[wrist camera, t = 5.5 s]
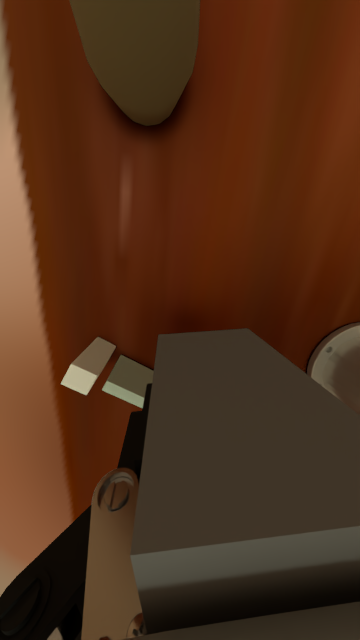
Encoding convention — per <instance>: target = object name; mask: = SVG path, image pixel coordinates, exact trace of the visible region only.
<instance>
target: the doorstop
mask: <svg viewBox="0 0 360 640" xmlns="http://www.w3.org/2000/svg"><path fill="white" fill-rule="evenodd" d="M130 558H131V562H132V567H133V571H134V576H135V581H136V585H137V590H138V594H139V599H140V603H141V608H142V613H143V617H144V622H145V626H146V631H147V633H155V632H159V633H160V632H165V631H171V630H177V629H184V628H190V627H196V626H203V625H209V624H215V623H222V622H228V621H234V620H241V619H247V618H253V617H260V616H266V615H273V614H280V613H286V612H293V611H300V610H306V609H313V608H319V607H326V606H333V605H340V604H346V603H353V602H360V415H359V414H357V413H356V412H355V411H353V410H352V409H351V408H350V407H348V406H347V405H346V404H344V403H343V402H342V401H341V400H339V399H338V398H337V397H335V396H334V395H333V394H332V393H330V392H329V391H328V390H326V389H325V388H324V387H323V386H321V385H320V384H319V383H317V382H316V381H315V380H314V379H312V378H311V377H310V376H308V375H307V374H306V373H305V372H303V371H302V370H301V369H299V368H298V367H297V366H296V365H294V364H293V363H292V362H290V361H289V360H288V359H287V358H285V357H284V356H283V355H281V354H280V353H279V352H278V351H276V350H275V349H274V348H272V347H271V346H270V345H269V344H267V343H266V342H265V341H263V340H262V339H261V338H260V337H258V336H257V335H256V334H254V333H253V332H252V331H251V330H249V329H248V328H246V329H232V330H218V331H203V332H189V333H175V334H161V335H158V342H157V350H156V358H155V365H154V373H153V381H152V389H151V397H150V404H149V412H148V420H147V428H146V435H145V443H144V451H143V459H142V467H141V474H140V482H139V490H138V498H137V505H136V513H135V521H134V529H133V536H132V544H131V552H130Z"/></svg>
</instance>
